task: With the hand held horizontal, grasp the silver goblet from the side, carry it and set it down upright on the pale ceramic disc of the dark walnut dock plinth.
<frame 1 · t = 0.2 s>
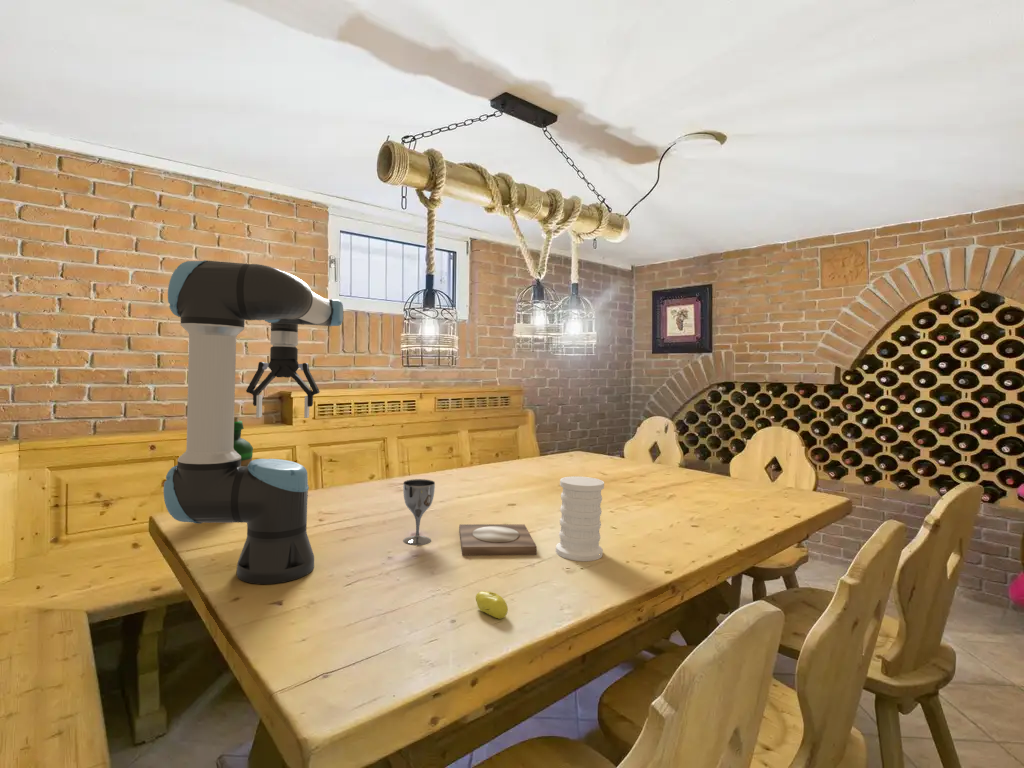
hand: (283, 417, 160), 28 cm above the table, tool pointing down, fingers open, 13 cm apart
bottle: (230, 513, 154), on the table
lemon: (491, 614, 99), on the table
silver goblet: (417, 541, 137), on the table
decorative container: (578, 553, 133), on the table
dock: (495, 542, 138), on the table
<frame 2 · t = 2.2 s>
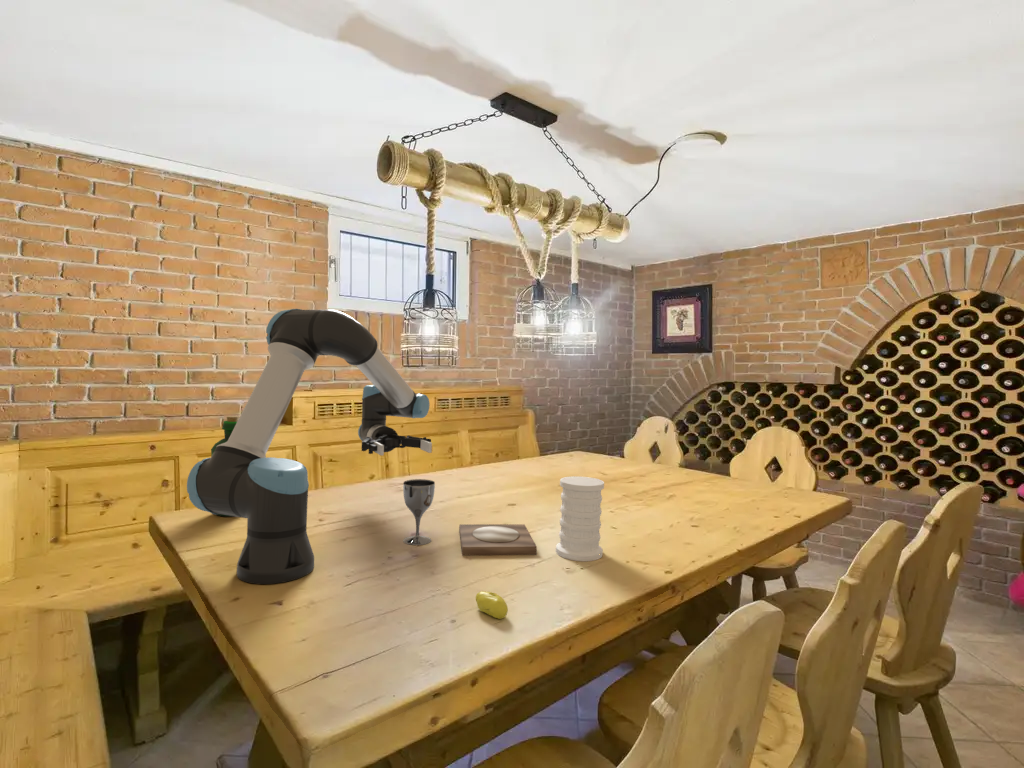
hand: (407, 449, 145), 22 cm above the table, tool horizontal, fingers open, 13 cm apart
nothing on the table moved.
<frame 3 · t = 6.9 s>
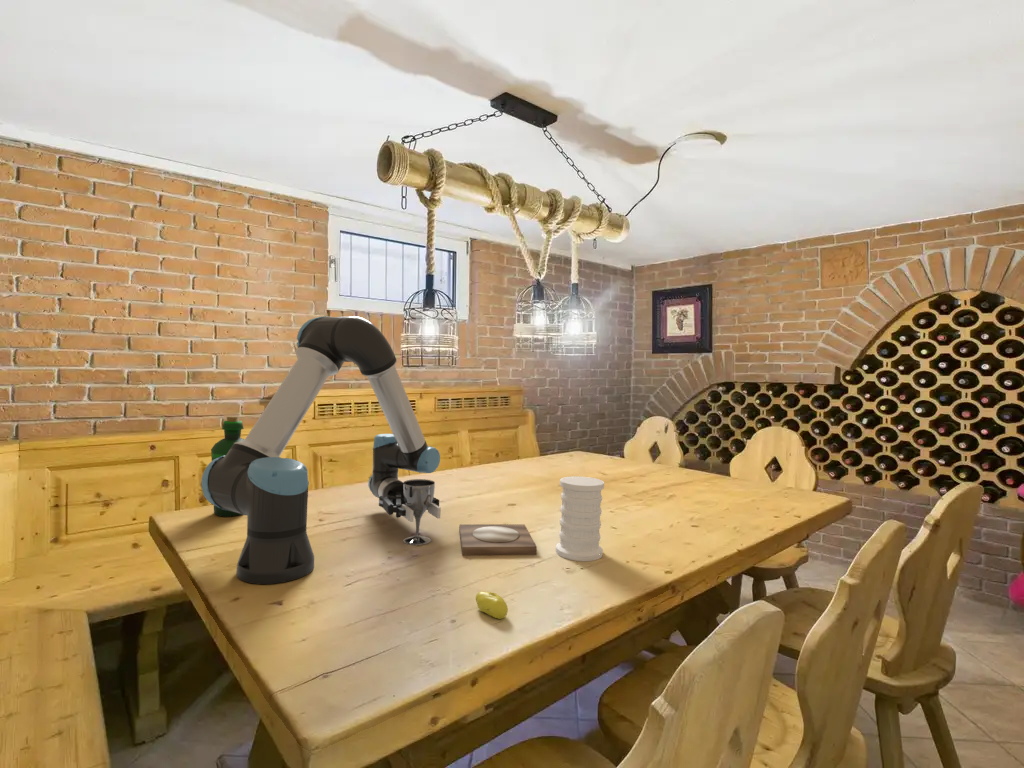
hand: (425, 514, 133), 8 cm above the table, tool horizontal, fingers closed on silver goblet, 6 cm apart
silver goblet: (417, 541, 137), on the table, touching gripper
everything else where it was.
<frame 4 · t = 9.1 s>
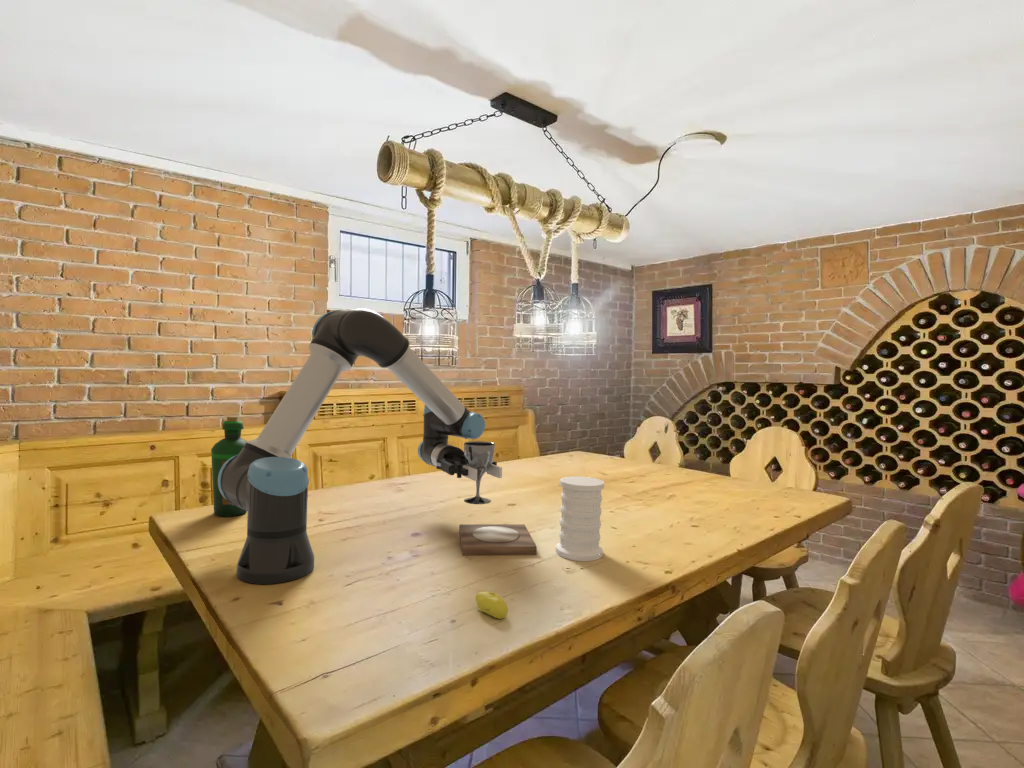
hand: (488, 473, 134), 18 cm above the table, tool horizontal, fingers closed on silver goblet, 6 cm apart
silver goblet: (477, 501, 139), point 10 cm above the table, touching gripper
everything else where it was.
when the fingers open (12 cm above the table, at t = 11.3 s): silver goblet drops 1 cm, point 2 cm above the table.
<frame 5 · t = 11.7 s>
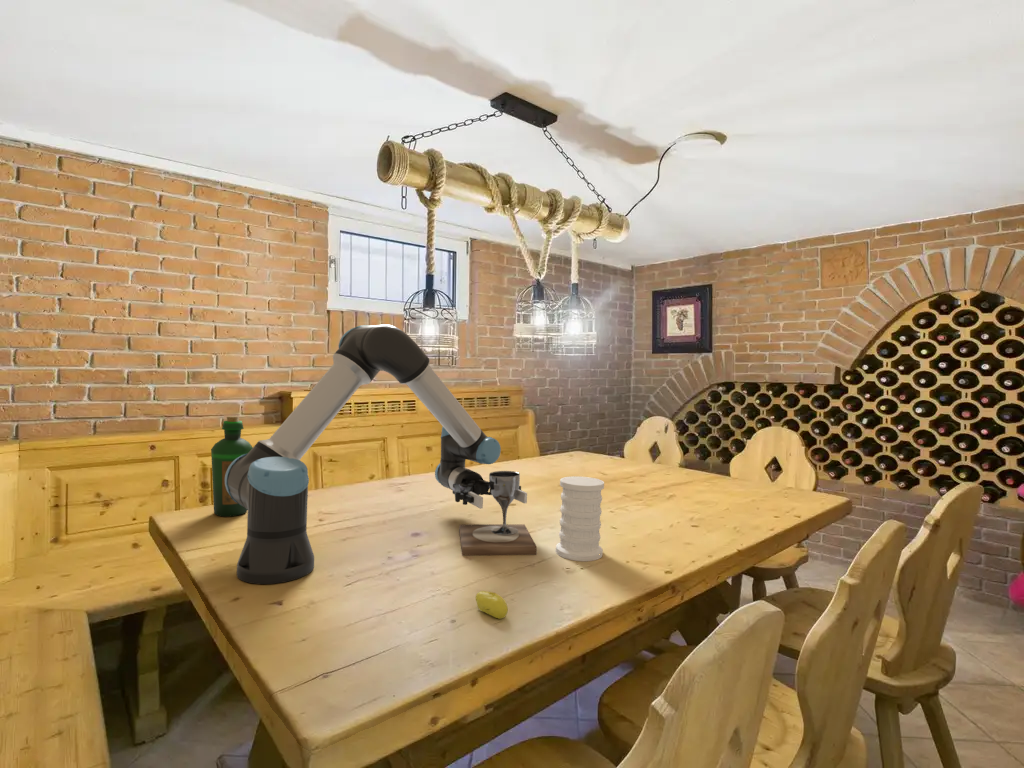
hand: (504, 500, 135), 12 cm above the table, tool horizontal, fingers open, 12 cm apart
silver goblet: (504, 531, 140), point 2 cm above the table, touching gripper
everything else where it was.
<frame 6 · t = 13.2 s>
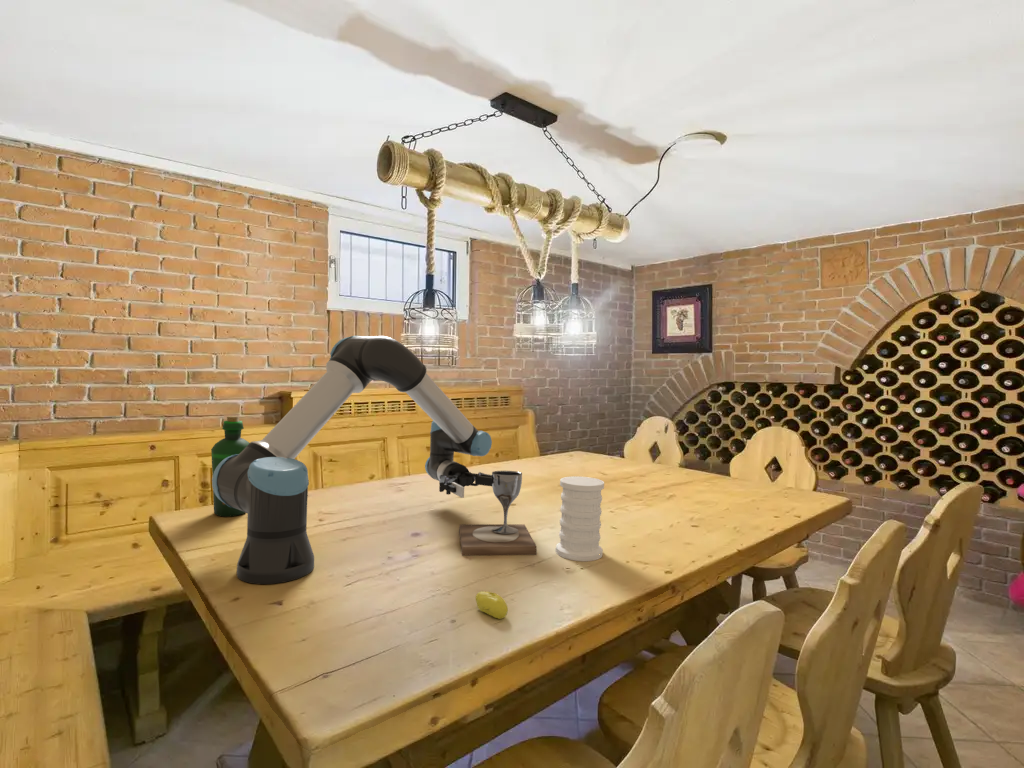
hand: (486, 490, 143), 12 cm above the table, tool horizontal, fingers open, 13 cm apart
silver goblet: (505, 530, 140), point 2 cm above the table, touching dock
everything else where it was.
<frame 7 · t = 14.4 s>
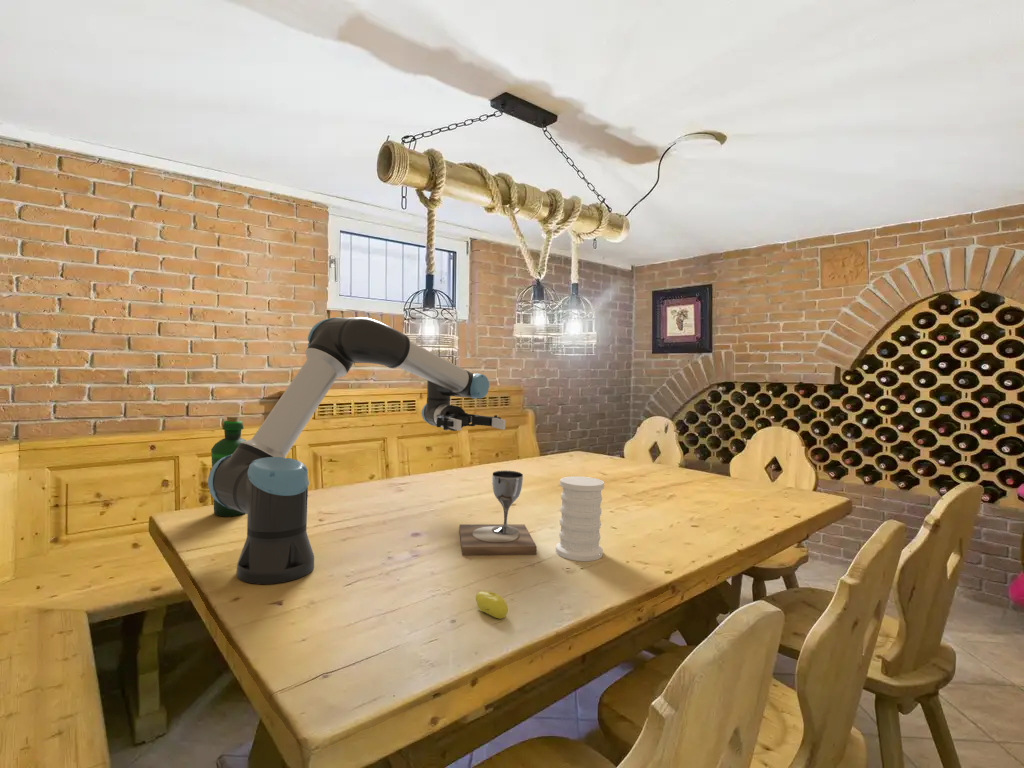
hand: (482, 425, 145), 29 cm above the table, tool horizontal, fingers open, 13 cm apart
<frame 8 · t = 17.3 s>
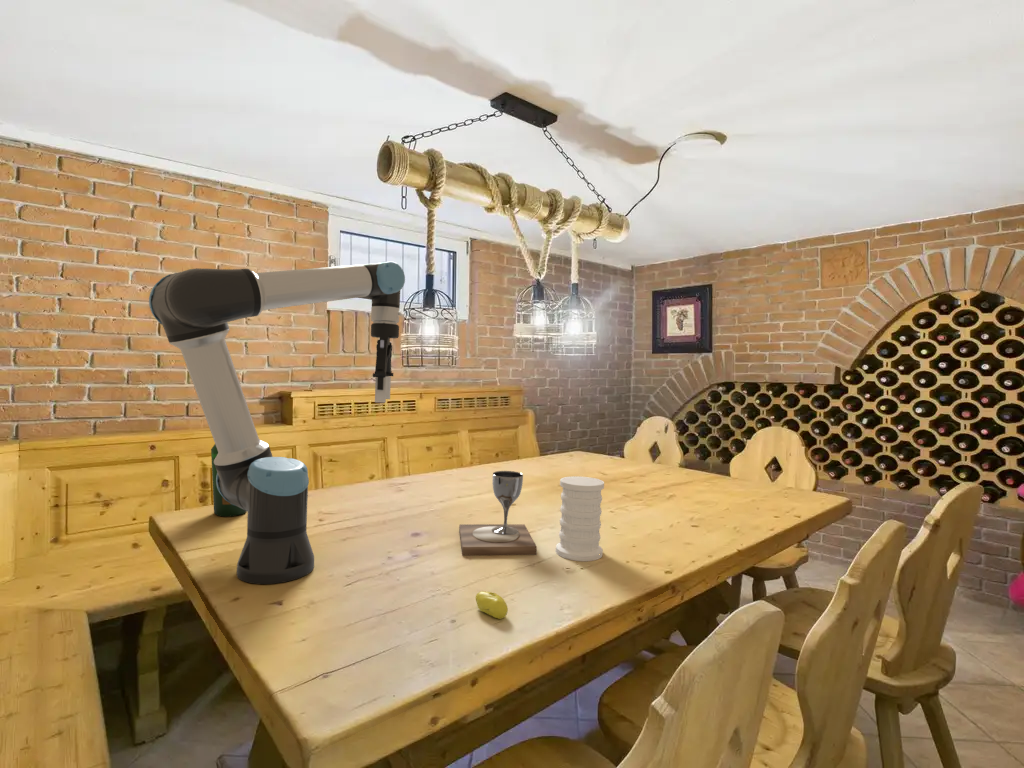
hand: (382, 400, 147), 35 cm above the table, tool pointing down, fingers open, 13 cm apart
nothing on the table moved.
at the end: silver goblet inside the target area on the dock (3.3 cm from its centre), point 2.3 cm above the dock's base; silver goblet tilted 1°; the gripper is holding nothing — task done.
